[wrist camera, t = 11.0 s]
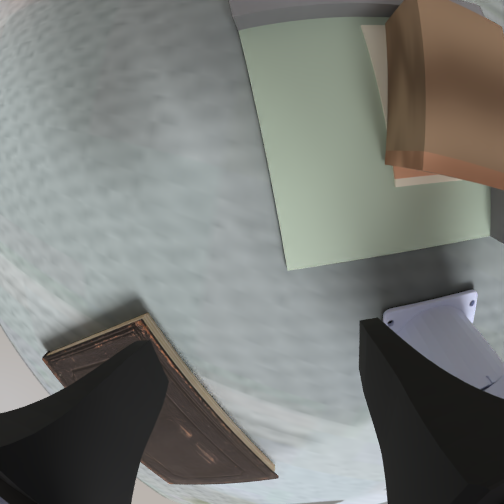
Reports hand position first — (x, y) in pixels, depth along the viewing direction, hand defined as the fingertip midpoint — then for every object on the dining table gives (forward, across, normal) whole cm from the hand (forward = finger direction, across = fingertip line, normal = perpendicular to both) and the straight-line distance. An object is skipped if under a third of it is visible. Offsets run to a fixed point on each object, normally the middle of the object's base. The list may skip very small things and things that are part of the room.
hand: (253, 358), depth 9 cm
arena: (+9, -9, -7) cm, 15 cm away
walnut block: (+9, -11, -9) cm, 17 cm away
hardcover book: (+10, +14, +16) cm, 23 cm away
